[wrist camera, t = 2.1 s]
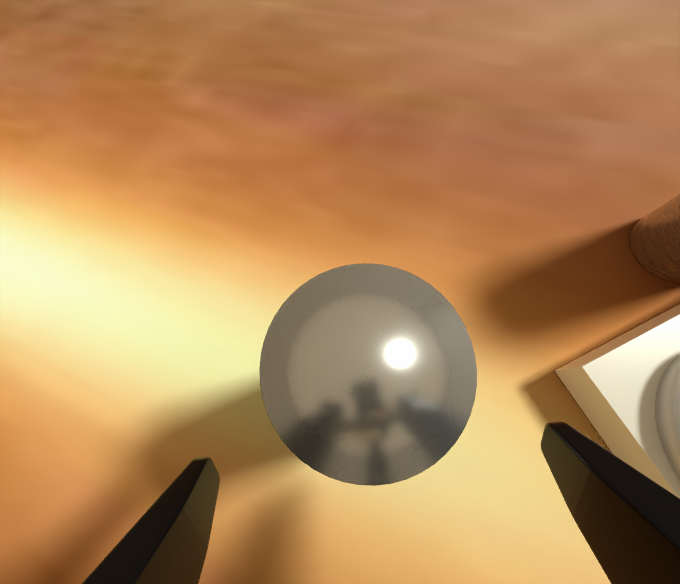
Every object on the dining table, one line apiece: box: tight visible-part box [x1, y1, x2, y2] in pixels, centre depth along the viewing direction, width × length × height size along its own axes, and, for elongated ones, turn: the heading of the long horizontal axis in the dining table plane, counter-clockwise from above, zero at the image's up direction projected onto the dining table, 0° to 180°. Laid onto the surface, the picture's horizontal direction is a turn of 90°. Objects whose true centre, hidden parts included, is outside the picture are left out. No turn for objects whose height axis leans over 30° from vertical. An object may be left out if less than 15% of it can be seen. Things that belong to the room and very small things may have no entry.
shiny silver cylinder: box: [260, 264, 477, 485], centre depth 13 cm, size 5×5×12 cm
